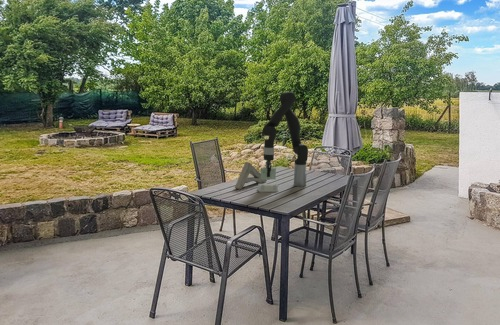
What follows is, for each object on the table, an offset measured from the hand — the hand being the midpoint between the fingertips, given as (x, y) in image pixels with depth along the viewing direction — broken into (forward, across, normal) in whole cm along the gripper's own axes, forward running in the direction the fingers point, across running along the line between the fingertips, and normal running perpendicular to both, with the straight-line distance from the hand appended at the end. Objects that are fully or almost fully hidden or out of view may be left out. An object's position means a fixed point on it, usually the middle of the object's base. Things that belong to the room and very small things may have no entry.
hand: (268, 176), depth 282 cm
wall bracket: (+11, +18, +10) cm, 23 cm away
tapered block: (+2, 0, 0) cm, 2 cm away
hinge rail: (+11, 0, 0) cm, 11 cm away
